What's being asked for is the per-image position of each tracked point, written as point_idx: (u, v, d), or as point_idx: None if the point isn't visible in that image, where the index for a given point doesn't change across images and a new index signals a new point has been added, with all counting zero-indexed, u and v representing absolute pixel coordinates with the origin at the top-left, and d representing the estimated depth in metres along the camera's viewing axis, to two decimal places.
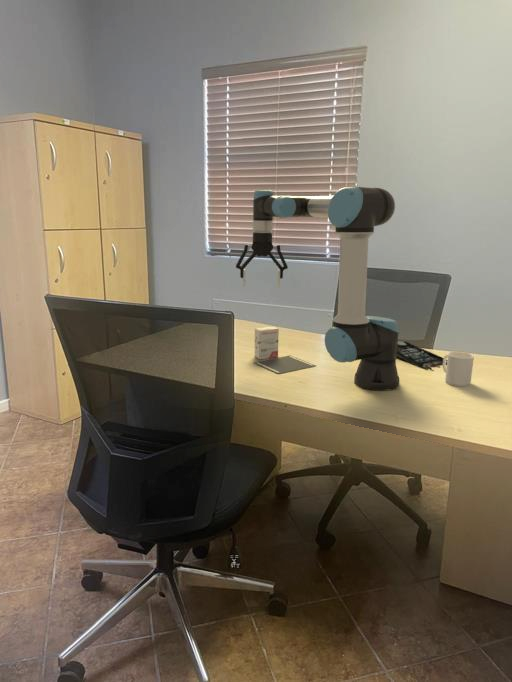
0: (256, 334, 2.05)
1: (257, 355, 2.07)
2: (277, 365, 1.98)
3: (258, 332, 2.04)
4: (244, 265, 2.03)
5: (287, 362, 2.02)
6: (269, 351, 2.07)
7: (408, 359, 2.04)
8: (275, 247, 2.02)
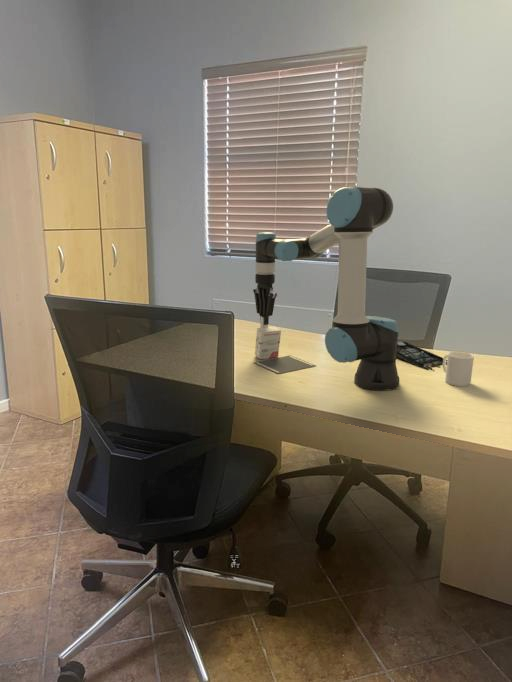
0: (258, 334, 2.03)
1: (257, 354, 2.06)
2: (277, 365, 1.98)
3: (260, 333, 2.02)
4: (260, 310, 2.06)
5: (287, 362, 2.02)
6: (269, 352, 2.06)
7: (408, 359, 2.03)
8: None
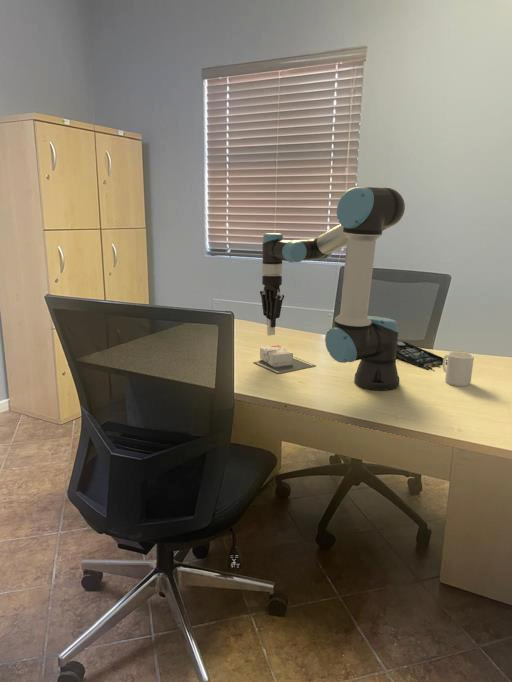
0: (270, 359, 1.96)
1: (261, 355, 2.04)
2: None
3: (272, 363, 1.96)
4: (266, 312, 2.03)
5: None
6: None
7: (408, 359, 2.03)
8: (278, 295, 1.96)
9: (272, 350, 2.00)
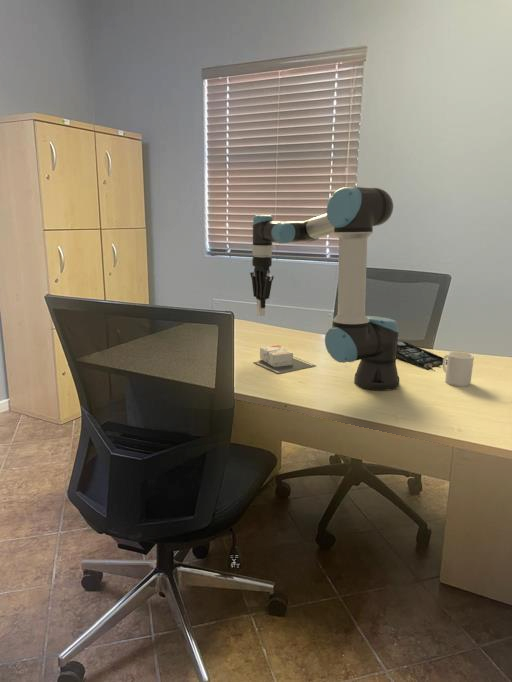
0: (270, 359, 1.96)
1: (261, 355, 2.04)
2: None
3: (272, 363, 1.96)
4: (256, 293, 2.07)
5: None
6: None
7: (409, 359, 2.03)
8: None
9: (272, 350, 2.00)
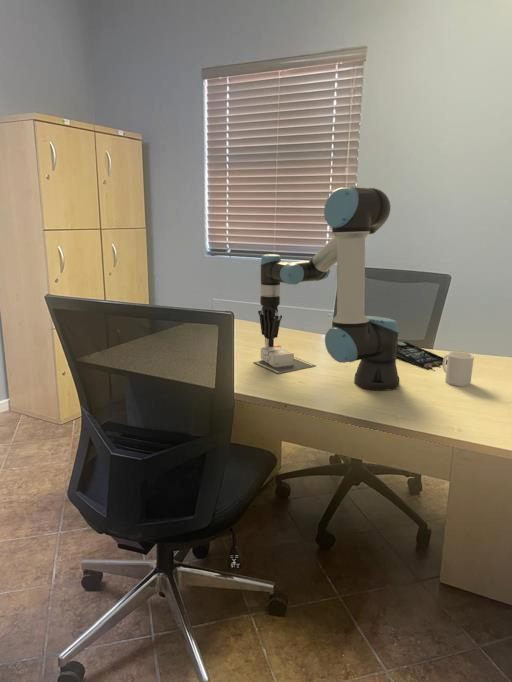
0: (271, 360, 1.96)
1: (261, 355, 2.04)
2: None
3: (272, 364, 1.96)
4: (265, 332, 2.06)
5: None
6: None
7: (409, 359, 2.04)
8: (275, 315, 1.99)
9: (272, 350, 1.99)
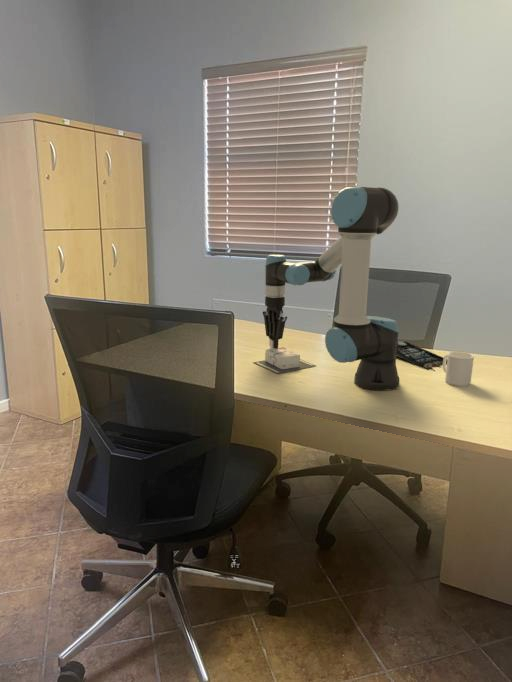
0: (278, 362, 1.94)
1: (266, 357, 2.01)
2: None
3: (279, 366, 1.93)
4: (269, 333, 2.03)
5: None
6: None
7: (409, 359, 2.04)
8: (280, 316, 1.97)
9: (278, 352, 1.97)
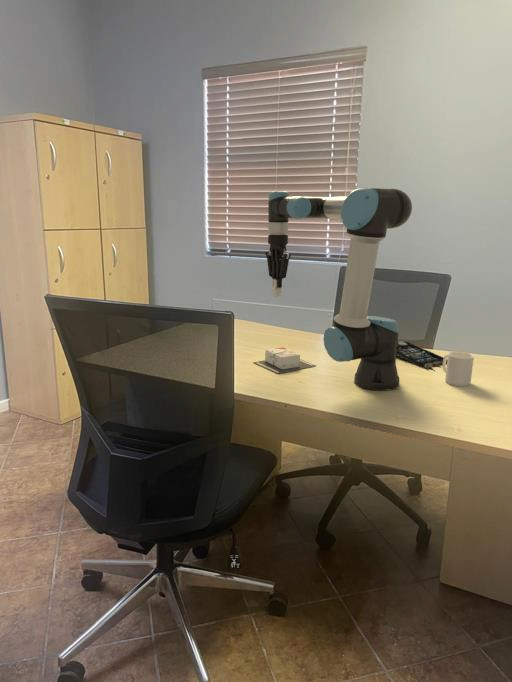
0: (278, 362, 1.94)
1: (266, 357, 2.01)
2: None
3: (279, 366, 1.93)
4: (272, 273, 2.01)
5: None
6: None
7: (409, 359, 2.04)
8: (284, 254, 1.95)
9: (278, 352, 1.97)
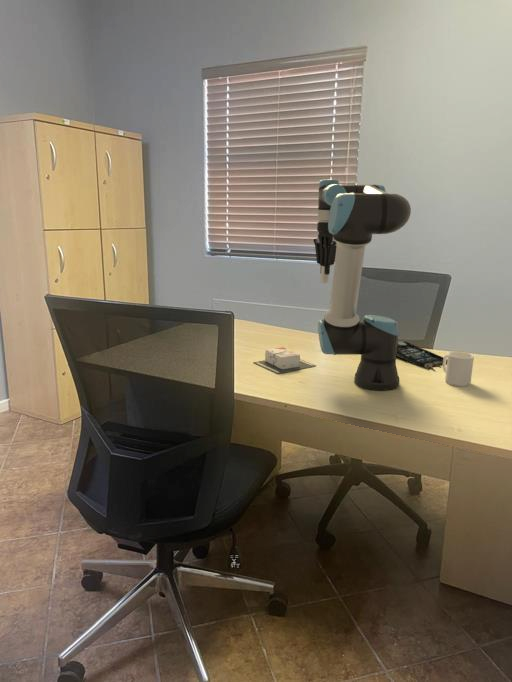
0: (278, 362, 1.94)
1: (266, 357, 2.01)
2: None
3: (279, 366, 1.93)
4: (320, 260, 2.06)
5: None
6: None
7: (409, 359, 2.04)
8: (333, 241, 1.99)
9: (278, 352, 1.97)
